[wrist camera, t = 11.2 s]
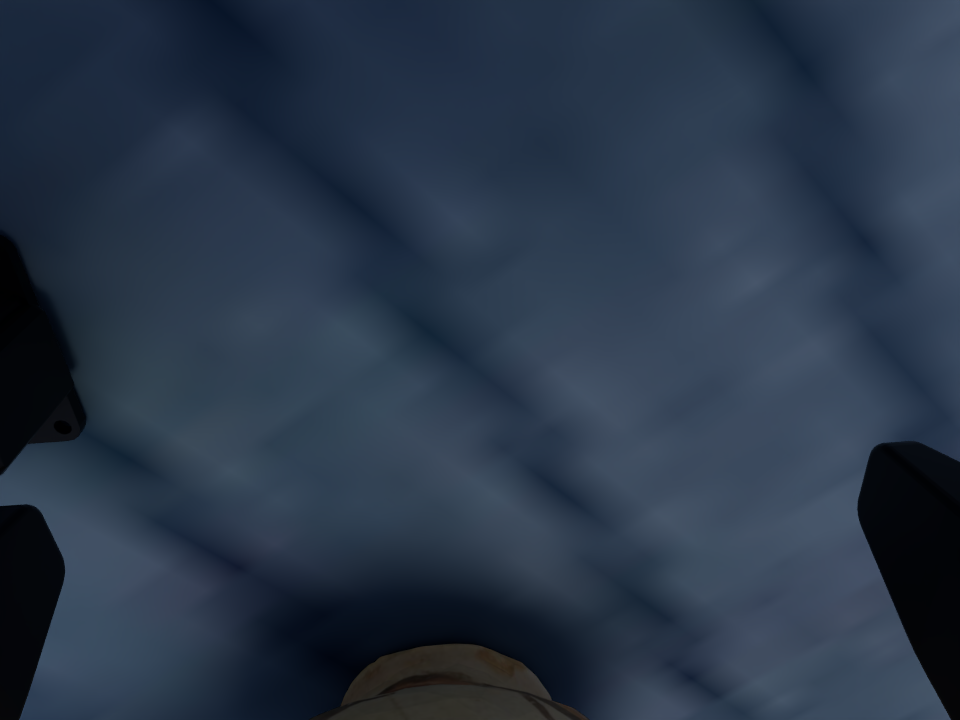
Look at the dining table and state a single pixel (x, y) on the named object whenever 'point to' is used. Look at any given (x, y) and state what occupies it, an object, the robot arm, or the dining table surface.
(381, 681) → the ceramic vessel
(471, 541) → the dining table surface
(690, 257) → the dining table surface
